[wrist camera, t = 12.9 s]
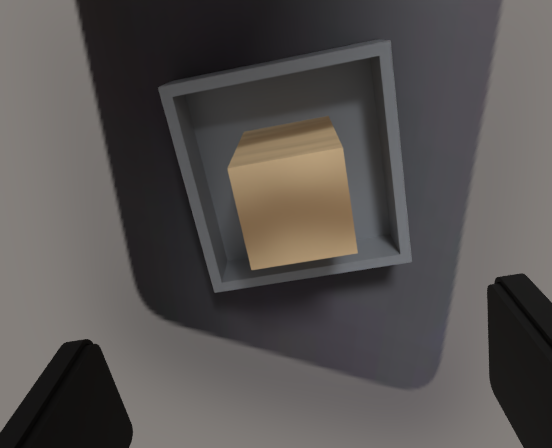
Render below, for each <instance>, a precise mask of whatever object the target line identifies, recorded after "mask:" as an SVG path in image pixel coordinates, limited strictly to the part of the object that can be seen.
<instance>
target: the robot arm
mask: <svg viewBox="0 0 552 448" xmlns="http://www.w3.org/2000/svg"><path fill="white" fill-rule="evenodd" d="M487 299H488V334H489V335H488V338H489V376H490V383H491V387H492V390H493V392H494V395H495V397H496V398H497V400H498V402H499V404H500V405H501V407H502V409H503V411H504V413H505V415H506V416H507V418H508V420H509V422H510V424H511V425H512V427H513V429H514V431H515V433H516V435H517V436H518V438H519V440H520V442H521V444H522V445H523V447H524V448H552V303H551V302H550V301H549V299H548V298H547V297H546V296H545V295H544V294H543V293H542V292H541V291H540V290H539V289H538V288H537V287H536V285H535V284H534V283H533V282H532V281H531V280H530V279H529V278H528V277H527V276H526V275H525V274H515V275H508V276H502V277H497V278H496V279H495V284H492V285H489V286H488V288H487ZM132 436H133V429H132V424H131V422H130V419H129V417H128V414H127V412H126V409H125V407H124V404H123V402H122V399H121V397H120V395H119V392H118V390H117V387H116V385H115V382H114V380H113V378H112V375H111V373H110V370H109V368H108V365H107V363H106V361H105V358H104V355H103V353H102V351H101V348H100V347H99V345H97V344H93V343H92V341H90V340H88V339H85V340H78V341H72V342H66V343H64V344H63V345H62V346H61V347H60V349H59V350H58V351H57V353H56V354H55V356H54V357H53V359H52V360H51V361H50V363H49V364H48V365H47V367H46V368H45V370H44V371H43V373H42V374H41V375H40V377H39V378H38V380H37V381H36V383H35V384H34V386H33V387H32V388H31V390H30V391H29V393H28V394H27V395H26V397H25V398H24V400H23V401H22V403H21V404H20V405H19V407H18V408H17V410H16V411H15V413H14V414H13V416H12V417H11V418H10V420H9V421H8V423H7V424H6V425H5V427H4V428H3V430H2V431H1V432H0V448H129V446H130V444H131V441H132Z"/></svg>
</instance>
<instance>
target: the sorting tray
mask: <svg viewBox="0 0 552 448" xmlns="http://www.w3.org/2000/svg"><path fill="white" fill-rule="evenodd" d="M158 90H159V94H160V97H161V101H162V105H163V108H164V112H165V115H166V119H167V123H168V126H169V130H170V134H171V137H172V141H173V144H174V148H175V152H176V155H177V159H178V163H179V166H180V170H181V173H182V177H183V181H184V184H185V188H186V192H187V195H188V199H189V202H190V206H191V210H192V213H193V217H194V221H195V224H196V228H197V231H198V235H199V239H200V242H201V246H202V250H203V253H204V257H205V260H206V264H207V268H208V271H209V275H210V279H211V282H212V286H213V289H214V293H217V292H223V291H230V290H236V289H243V288H249V287H255V286H262V285H268V284H275V283H281V282H287V281H294V280H300V279H306V278H313V277H319V276H326V275H332V274H338V273H345V272H351V271H357V270H364V269H370V268H377V267H383V266H389V265H396V264H402V263H408V262H412V258H411V248H410V237H409V227H408V217H407V206H406V196H405V186H404V175H403V165H402V155H401V144H400V134H399V124H398V113H397V103H396V92H395V82H394V72H393V61H392V51H391V41H390V40H382V39H376V40H371V41H366V42H361V43H356V44H351V45H347V46H342V47H337V48H332V49H327V50H322V51H317V52H312V53H307V54H302V55H297V56H292V57H287V58H282V59H277V60H272V61H268V62H263V63H258V64H253V65H248V66H243V67H238V68H233V69H228V70H223V71H218V72H213V73H208V74H203V75H198V76H193V77H189V78H184V79H179V80H174V81H171V82H169V83H167V84H164V85H162V86H160V87H158ZM325 116H329V118H330V120H331V122H332V125H333V127H334V129H335V131H336V133H337V136H338V138H339V140H340V142H341V144H342V147H343V152H344V159H345V166H346V173H347V180H348V187H349V194H350V201H351V208H352V215H353V222H354V229H355V236H356V243H357V250H358V253H356V254H350V255H344V256H338V257H331V258H325V259H319V260H313V261H306V262H300V263H294V264H288V265H281V266H275V267H269V268H263V269H256V270H251V266H250V262H249V258H248V254H247V249H246V245H245V241H244V237H243V233H242V228H241V224H240V220H239V216H238V212H237V207H236V203H235V199H234V195H233V190H232V186H231V182H230V178H229V174H228V169H227V168H228V166H229V164H230V161H231V159H232V157H233V155H234V153H235V150H236V148H237V146H238V144H239V141H240V139H241V137H242V135H243V133H244V132H245V131H251V130H256V129H261V128H267V127H272V126H277V125H283V124H288V123H293V122H299V121H304V120H309V119H314V118H320V117H325Z"/></svg>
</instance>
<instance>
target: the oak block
mask: <svg viewBox="0 0 552 448" xmlns="http://www.w3.org/2000/svg"><path fill="white" fill-rule="evenodd" d="M227 169H228V174H229V178H230V182H231V186H232V190H233V195H234V199H235V203H236V207H237V212H238V216H239V220H240V224H241V228H242V233H243V237H244V241H245V245H246V249H247V254H248V258H249V262H250V266H251V270H256V269H263V268H269V267H275V266H281V265H288V264H294V263H300V262H306V261H313V260H319V259H325V258H331V257H338V256H344V255H350V254H356V253H358V250H357V243H356V236H355V229H354V222H353V215H352V208H351V201H350V194H349V187H348V180H347V173H346V166H345V159H344V152H343V147H342V144H341V142H340V140H339V138H338V136H337V133H336V131H335V129H334V127H333V125H332V122H331V120H330V118H329V116H325V117H320V118H314V119H309V120H304V121H299V122H293V123H288V124H283V125H277V126H272V127H267V128H261V129H256V130H251V131H245V132H244V133H243V135H242V137H241V139H240V141H239V144H238V146H237V148H236V150H235V153H234V155H233V157H232V159H231V161H230V164H229V166H228V168H227Z"/></svg>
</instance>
